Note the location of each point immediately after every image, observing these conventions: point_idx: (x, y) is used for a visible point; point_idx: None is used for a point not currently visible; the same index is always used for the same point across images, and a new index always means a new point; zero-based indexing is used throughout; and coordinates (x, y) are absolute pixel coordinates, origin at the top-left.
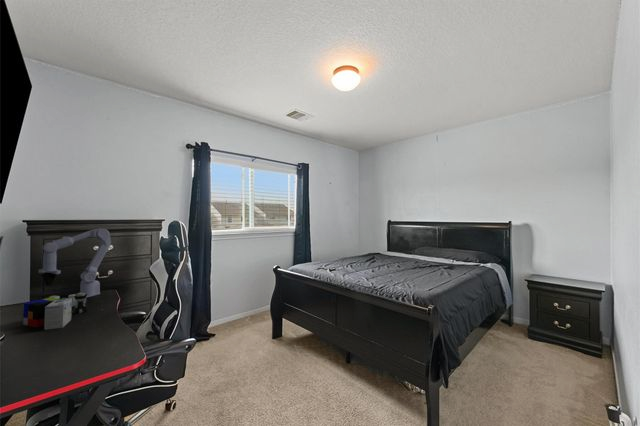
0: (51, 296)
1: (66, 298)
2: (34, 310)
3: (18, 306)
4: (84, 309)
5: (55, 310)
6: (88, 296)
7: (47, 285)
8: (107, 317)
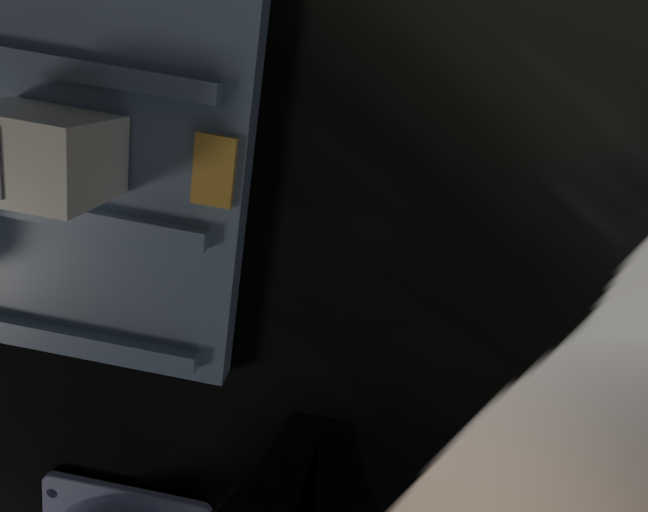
0: (47, 155)
1: (104, 343)
2: None
3: (612, 30)
4: None
5: None
6: (43, 501)
7: (292, 415)
8: None
